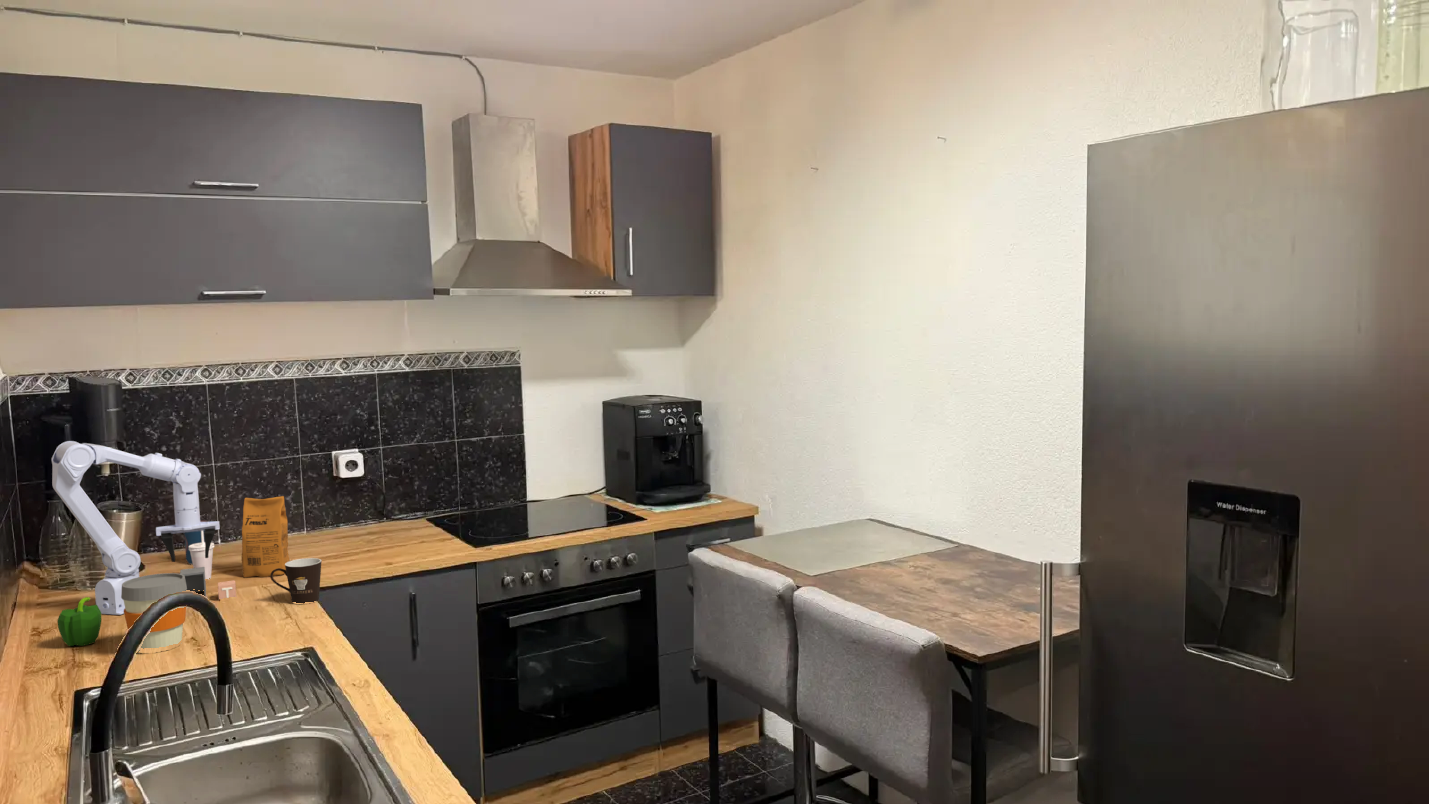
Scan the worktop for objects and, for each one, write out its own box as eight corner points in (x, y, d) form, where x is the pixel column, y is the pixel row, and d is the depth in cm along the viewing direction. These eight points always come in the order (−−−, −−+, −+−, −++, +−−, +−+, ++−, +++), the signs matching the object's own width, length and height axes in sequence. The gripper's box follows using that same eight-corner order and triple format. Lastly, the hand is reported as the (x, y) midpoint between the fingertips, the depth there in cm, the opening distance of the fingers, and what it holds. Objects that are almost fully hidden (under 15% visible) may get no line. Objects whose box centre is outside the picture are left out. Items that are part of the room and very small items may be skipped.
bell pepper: (72, 652, 208) (69, 607, 207) (52, 646, 212) (49, 602, 211) (112, 640, 215) (109, 597, 214) (92, 635, 219) (89, 592, 218)
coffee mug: (330, 596, 246) (328, 559, 245) (308, 606, 238) (306, 567, 237) (293, 594, 249) (290, 556, 248) (269, 603, 241) (267, 565, 240)
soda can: (189, 560, 286) (186, 521, 285) (214, 558, 289) (212, 519, 287) (184, 565, 280) (181, 525, 279) (210, 563, 282) (207, 523, 281)
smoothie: (205, 582, 262) (201, 532, 260) (185, 581, 263) (181, 531, 262) (221, 576, 268) (218, 527, 267) (201, 575, 269) (198, 526, 268)
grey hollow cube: (205, 596, 249) (204, 571, 248) (181, 599, 246) (179, 574, 246) (206, 590, 254) (204, 566, 253) (182, 593, 251) (180, 569, 250)
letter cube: (236, 599, 246) (235, 584, 245) (219, 601, 244) (218, 586, 243) (235, 595, 249) (234, 580, 249) (218, 597, 247) (217, 582, 247)
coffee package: (250, 569, 275) (245, 494, 273) (295, 567, 276) (290, 493, 274) (236, 579, 265) (232, 501, 263) (283, 577, 266) (278, 499, 264)
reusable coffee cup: (111, 655, 205) (106, 588, 204) (153, 636, 217) (148, 572, 216) (164, 657, 203) (159, 589, 202) (203, 638, 216) (199, 573, 214)
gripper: (153, 514, 242) (157, 566, 243) (217, 507, 248) (221, 558, 249) (155, 509, 248) (159, 560, 249) (218, 503, 254) (221, 553, 256)
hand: (190, 559), depth 250 cm, fingers open, 7 cm apart
